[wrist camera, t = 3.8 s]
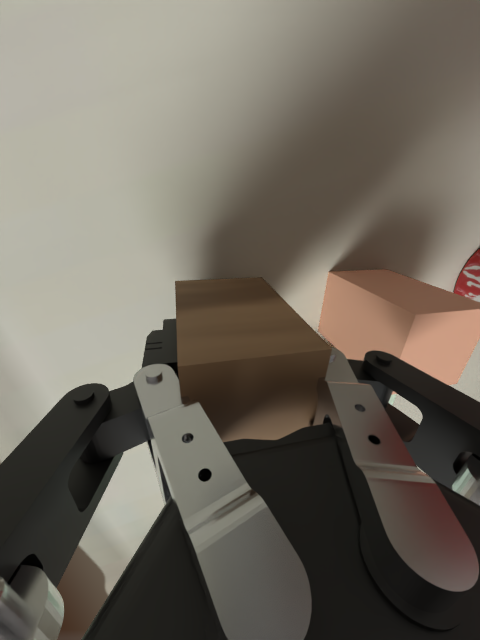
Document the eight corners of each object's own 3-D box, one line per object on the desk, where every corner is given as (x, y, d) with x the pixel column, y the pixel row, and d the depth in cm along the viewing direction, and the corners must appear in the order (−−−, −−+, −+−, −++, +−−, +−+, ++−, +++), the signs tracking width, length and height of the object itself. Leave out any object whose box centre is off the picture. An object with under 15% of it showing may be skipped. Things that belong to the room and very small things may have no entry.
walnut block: (175, 280, 13) (177, 366, 7) (261, 277, 14) (332, 349, 8) (181, 355, 15) (188, 472, 9) (256, 347, 16) (309, 448, 10)
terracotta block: (328, 271, 17) (415, 314, 11) (385, 269, 18) (494, 307, 12) (317, 331, 19) (386, 395, 13) (370, 325, 20) (456, 383, 14)
